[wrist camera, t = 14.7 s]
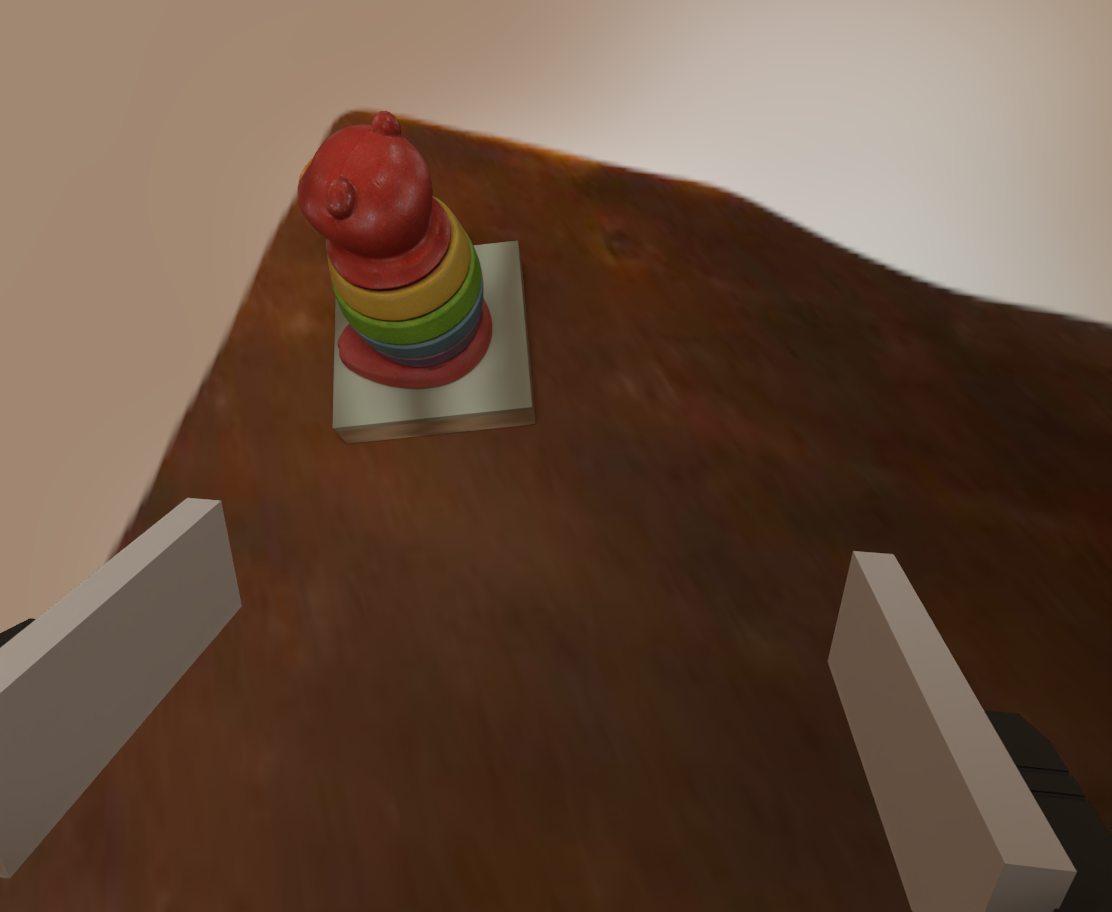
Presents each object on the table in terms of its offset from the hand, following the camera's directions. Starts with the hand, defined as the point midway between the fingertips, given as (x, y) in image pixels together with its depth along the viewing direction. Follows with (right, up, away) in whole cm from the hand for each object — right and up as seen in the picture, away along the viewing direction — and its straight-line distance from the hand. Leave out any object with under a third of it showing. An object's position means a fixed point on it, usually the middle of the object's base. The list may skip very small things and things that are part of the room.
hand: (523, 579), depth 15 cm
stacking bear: (-9, +12, +37) cm, 40 cm away
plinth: (-8, +11, +40) cm, 42 cm away
